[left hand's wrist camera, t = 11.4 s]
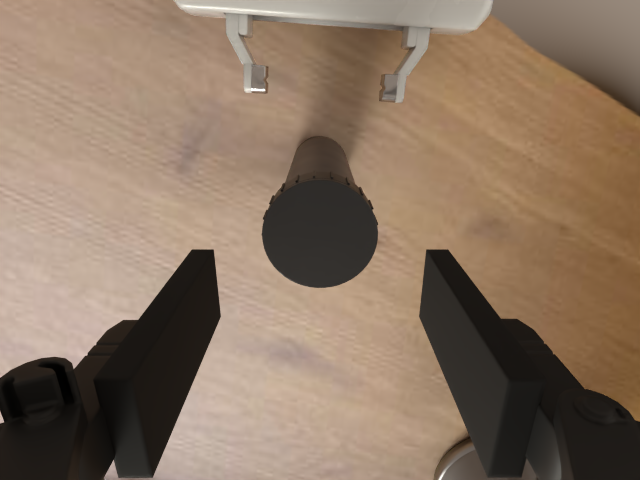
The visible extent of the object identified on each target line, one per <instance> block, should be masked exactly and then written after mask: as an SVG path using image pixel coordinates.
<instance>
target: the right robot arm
mask: <svg viewBox="0 0 640 480" xmlns="http://www.w3.org/2000/svg"><path fill="white" fill-rule="evenodd" d="M173 1H174V2H175V3H176V4H177V6H178V7H179V8H180V9H181V10H183V11H185V12H186V13H189V14H191V15H194V16H202V17H216V18H226V35H227V36H228V38H229V40H230V42H231V44H232V46H233V48H234V50H235V52H236V54H237V56H238V57H239V59H240V61H241V63H242V64H244V92H247V93H264V94H266V93H268V82H267V81H266V79H267V78H268V66H262V65H257V64H256V62H255V60H254V58H253V56H252V54H251V52H250V50H249V48H248V46H247V44H246V42H245V39H244V37H245V38H251V37H252V29H253V20H257V21H271V22H284V23H298V24H312V25H325V26H339V27H353V28H366V29H380V30H394V31H403V33H402V42H401V48H402V49H409V51H408V52H407V54H406V55H405V57H404V58H403V60H402V61H401V63H400V64H399V66H398V67H397V69H396V70H395V72H394V73H393V75H391V74H383V75H381V83H380V85H381V87H382V89H381V90H380V92H379V101H383V102H394V103H402V102H403V98H404V92H405V84H406V77H407V75H409V74H410V73H411V71H412V70H413V68H414V67H415V65H416V64H417V63H418V61H419V60H420V58H421V57H422V56H423V54H424V53H425V51H426V50H427V48H428V42H429V35H430V33H435V34H449V35H463V34H466V33H470V32H472V31H474V30H476V29H477V28H478V27H479V26H480V25H481V24H482V23H483V22H484V21H485V20H486V19H487V17H488V16H489V14H490V12H491V9H492V6H493V1H494V0H173Z"/></svg>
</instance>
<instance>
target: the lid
mask: <svg viewBox="0 0 640 480" xmlns="http://www.w3.org/2000/svg"><path fill="white" fill-rule="evenodd" d="M269 204H270V206H269V208H268V210H266V212H265V215H264V217H263V220H264V223H263V229H262V239H263V245H264V249H265V252H266V254H267V256H268V258H269V260H270V262H271V263H272V264H273V266H274V267H275V268H276V269H277V270H278V271H279V272H280V273H281V274H282V275H283V276H285V277H286V278H288V279H289V280H291V281H293V282H295V283H297V284H300V285H303V286H308V287H314V288H326V287H333V286H337V285H340V284H342V283H345V282H347V281H349V280H351V279H352V278H354V277H355V276H357V275H358V274H359V273H360V272H361V271H362V270H363V269H364V268H365V267H366V266H367V265H368V263H369V262H370V260H371V258H372V256H373V254H374V252H375V249H376V245H377V240H378V229H377V225H378V222H377V220H376V217H375V215H374V213H373V211H372V209H373V206H372V204H371V202H370V200H368V199H367V198H366V196H365V194H364V193H363V191H362V188H361V187H358V186H357V185H356V184H354V183H353V182H352V181H350V180H349V178H348V177H346V178H345V177H343V176H340V175H338V174H334V173H333V172H332V171H330V172H316V171H313V172H311V173H306V174H303V175H300V176H299V174H298V175H297V176H296V177H295V178H293V179H292V180H290V181H288V182H287V183H286V184H285V183H283V184H282V187H281V188H280V189H279V190H278V192H277V193H276V194H275V196H274V195H273V196H272V198H271V200H270V203H269Z"/></svg>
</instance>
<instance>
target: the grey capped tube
mask: <svg viewBox="0 0 640 480" xmlns="http://www.w3.org/2000/svg"><path fill="white" fill-rule="evenodd" d="M313 171H316V172H330V171H332V172H333V173H334V174H338V175H340V176H343V177H345V178H346V177H348V178H349V180H350V181H352V182H353V183H354V184H355V182H354V179H353V176H352V173H351V170H350V167H349V164H348V162H347V159H346V156H345V153H344V151H343V149H342V148H341V146H340V145H339V144H338V143H337V142H336V141H334V140H332V139H330V138H327V137H322V136H318V137H313V138H310V139H308V140H306V141H304V142H303V143H302V144H301V145H300V146H299V148H298V149H297V151H296V153H295V156H294V159H293V162H292V165H291V167H290V170H289V173H288V176H287V179H286V182H285V184H286V183H287V182H288V181H290V180H292V179H293V178H295V177H296V176H297V175H298V174H299V176H300V175H303V174H306V173H311V172H313Z"/></svg>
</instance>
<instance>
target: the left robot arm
mask: <svg viewBox="0 0 640 480" xmlns="http://www.w3.org/2000/svg"><path fill="white" fill-rule="evenodd" d="M220 317H221V314H220V305H219V296H218V286H217V277H216V267H215V258H214V250H191V252H190V253H189V254H188V255H187V257H186V258H185V259H184V261H183V262H182V263H181V265H180V266H179V267H178V269H177V270H176V271H175V273H174V274H173V275H172V276H171V278H170V279H169V280H168V282H167V283H166V284H165V286H164V287H163V288H162V290H161V291H160V292H159V293H158V295H157V296H156V297H155V299H154V300H153V301H152V303H151V304H150V305H149V307H148V308H147V309H146V311H145V312H144V313H143V314H142V316H141V317H140V318H139V320H123V321H121V322H120V323H118V324H117V325H115V326H113V327H112V328H110V329H109V330H107V331H106V332H105V334H104V335H103V336H102V337H101V338H100V339H99V341H98V342H97V344H96V345H94V346H93V348H92V349H91V350H90V351H89V352H88V355H87V356H85V357H84V358H83V359H82V360H81V362H80V363H79V364H78V365H77V366H76V368H75V369H73V365H72V363H71V362H70V361H68V360H67V359H65V358H59V357H49V358H41V359H37V360H34V361H31V362H27V363H25V364H23V365H21V366H18V367H16V368H14V369H12V370H11V371H9V372H8V373H6V374H5V375H4V376H2V377H1V378H0V411H1V414H2V417H3V419H4V423H1V424H0V480H104V476H105V474H106V473H107V471H108V469H109V467H110V465H111V463H112V462H113V460H114V462H115V466H116V470H117V474H118V478H153V475H154V473H155V471H156V468H157V466H158V464H159V461H160V459H161V457H162V454H163V452H164V449H165V447H166V445H167V442H168V440H169V438H170V435H171V433H172V431H173V428H174V426H175V423H176V421H177V419H178V416H179V414H180V412H181V409H182V407H183V405H184V402H185V400H186V397H187V395H188V393H189V390H190V388H191V386H192V383H193V381H194V379H195V376H196V374H197V371H198V369H199V367H200V364H201V362H202V360H203V357H204V355H205V353H206V350H207V348H208V345H209V343H210V341H211V338H212V336H213V334H214V331H215V329H216V327H217V324H218V322H219V319H220ZM419 317H420V319H421V322H422V324H423V327H424V329H425V331H426V334H427V336H428V338H429V341H430V343H431V345H432V348H433V350H434V353H435V355H436V357H437V360H438V362H439V364H440V367H441V369H442V371H443V374H444V376H445V379H446V381H447V383H448V386H449V388H450V390H451V393H452V395H453V397H454V400H455V402H456V405H457V407H458V409H459V412H460V414H461V416H462V419H463V421H464V423H465V426H466V428H467V431H468V433H469V435H470V438H469V439H467V440H465V441H463V442H461V443H459V444H458V445H456V446H455V447H454V448H452V449H451V450H450V451H449V452H448V453H447V454H446V455H445V456H444V457H443V458H442V460H441V461H440V463H439V464H438V466H437V468H436V471H435V475H434V480H640V422H639V421H635V420H634V418H633V417H632V415H631V414H630V413H629V411H628V410H626V409H625V408H624V407H623V406H622V405H620V404H619V403H618V402H616V401H615V400H613V399H611V398H609V397H607V396H605V395H603V394H601V393H597V392H594V391H591V390H588V389H584V388H583V387H582V385H581V384H580V383H579V382H578V381H577V380H576V378H575V377H574V376H573V375H572V374H571V373H570V371H569V370H568V369H567V368H566V367H565V366H564V364H563V363H562V362H561V361H560V360H559V359H558V358H557V356H556V355H553V352H552V351H551V349H550V348H549V347H548V346H547V345H546V344H544V341H543V340H542V339H541V338H540V337H539V335H538V334H537V333H536V332H535V331H534V330H533V329H532V328H530V327H529V326H527V325H526V324H524V323H523V322H521V321H519V320H518V319H501V318H500V317H499V316H498V314H497V313H496V312H495V311H494V309H493V308H492V307H491V305H490V304H489V303H488V301H487V300H486V299H485V297H484V296H483V295H482V293H481V292H480V291H479V290H478V288H477V287H476V286H475V284H474V283H473V282H472V280H471V279H470V278H469V276H468V275H467V274H466V273H465V271H464V270H463V269H462V267H461V266H460V265H459V263H458V262H457V261H456V259H455V258H454V257H453V255H452V254H451V253H450V252H449V250H426V258H425V267H424V277H423V286H422V296H421V305H420V314H419Z"/></svg>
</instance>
